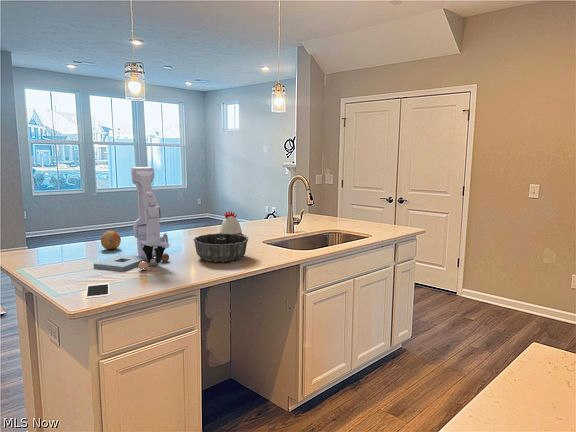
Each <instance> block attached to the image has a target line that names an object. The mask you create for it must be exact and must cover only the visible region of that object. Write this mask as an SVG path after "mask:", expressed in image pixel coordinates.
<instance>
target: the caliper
mask: <svg viewBox="0 0 576 432" xmlns="http://www.w3.org/2000/svg"><path fill="white" fill-rule="evenodd" d="M160 242H164V243H169V237H168V234H167V233H165V232H164V233H162V236H160Z"/></svg>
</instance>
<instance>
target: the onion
mask: <svg viewBox="0 0 576 432" xmlns="http://www.w3.org/2000/svg"><path fill="white" fill-rule="evenodd" d="M121 241H122V239H121V236H120V234H119V233H118V232H117V231H115V230H106V231H105V232H104V233H103V234H102V235H101V236H100V244H101V246H102V247H103V248H104V249H105V250H116V249H118V248H119V247H120V245H121Z"/></svg>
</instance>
